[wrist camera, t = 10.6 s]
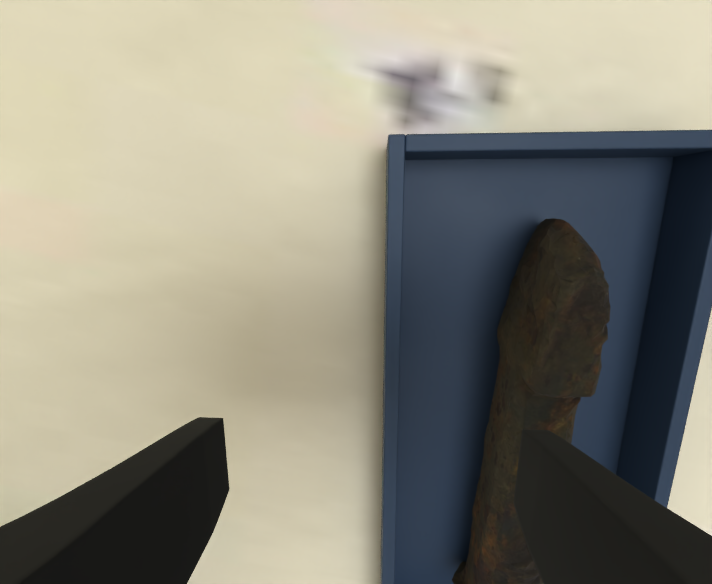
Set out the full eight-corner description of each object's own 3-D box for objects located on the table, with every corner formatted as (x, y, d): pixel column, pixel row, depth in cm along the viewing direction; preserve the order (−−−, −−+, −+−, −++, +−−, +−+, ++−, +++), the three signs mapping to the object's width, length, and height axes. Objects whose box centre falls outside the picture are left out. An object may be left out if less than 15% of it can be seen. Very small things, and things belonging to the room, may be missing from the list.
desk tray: (380, 601, 22) (380, 662, 19) (386, 147, 16) (388, 134, 13) (594, 613, 21) (629, 679, 18) (681, 143, 15) (752, 128, 12)
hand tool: (521, 575, 20) (563, 681, 16) (447, 566, 20) (468, 669, 16) (603, 225, 16) (693, 232, 11) (509, 217, 16) (561, 221, 11)
